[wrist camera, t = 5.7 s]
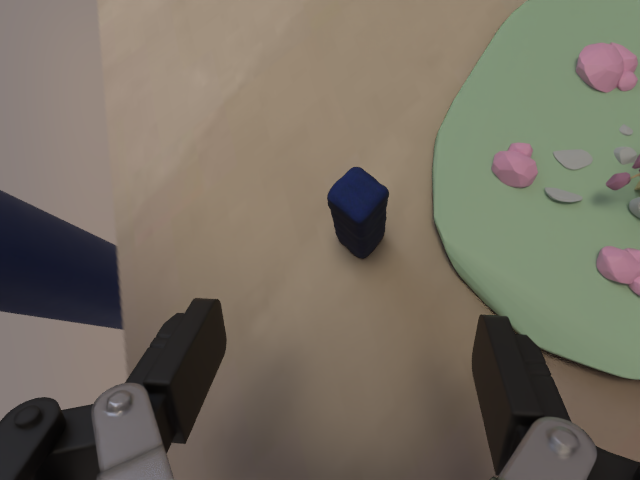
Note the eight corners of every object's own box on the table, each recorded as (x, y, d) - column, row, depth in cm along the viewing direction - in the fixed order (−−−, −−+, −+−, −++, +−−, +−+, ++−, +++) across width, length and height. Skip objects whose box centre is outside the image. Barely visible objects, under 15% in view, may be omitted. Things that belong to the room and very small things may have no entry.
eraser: (362, 264, 25) (359, 227, 18) (333, 237, 25) (321, 192, 19) (388, 237, 25) (395, 191, 19) (359, 211, 26) (356, 158, 19)
